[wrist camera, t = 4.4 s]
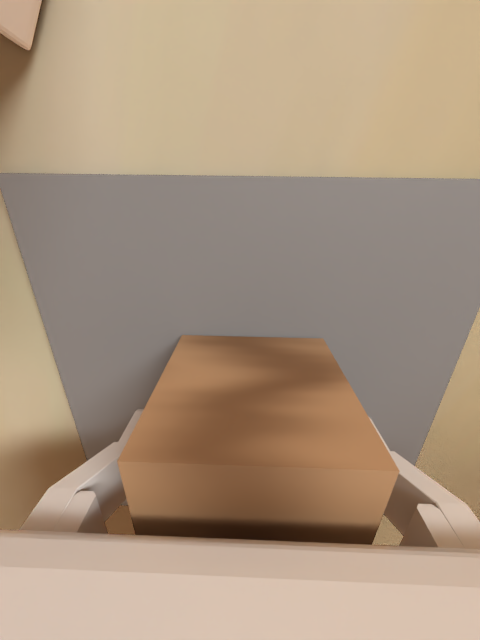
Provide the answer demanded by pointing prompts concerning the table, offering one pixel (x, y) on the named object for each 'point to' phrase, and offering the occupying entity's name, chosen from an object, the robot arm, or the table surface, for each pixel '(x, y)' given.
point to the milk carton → (19, 20)
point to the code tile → (251, 281)
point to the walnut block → (256, 447)
